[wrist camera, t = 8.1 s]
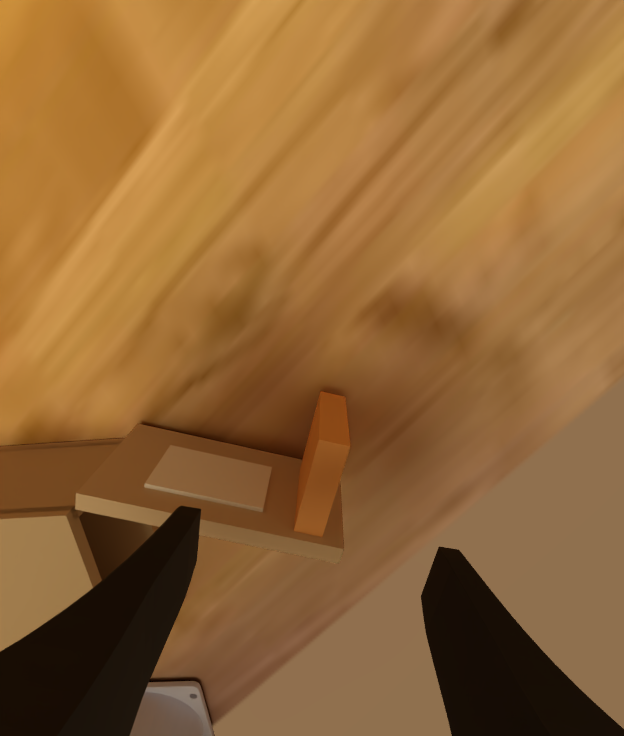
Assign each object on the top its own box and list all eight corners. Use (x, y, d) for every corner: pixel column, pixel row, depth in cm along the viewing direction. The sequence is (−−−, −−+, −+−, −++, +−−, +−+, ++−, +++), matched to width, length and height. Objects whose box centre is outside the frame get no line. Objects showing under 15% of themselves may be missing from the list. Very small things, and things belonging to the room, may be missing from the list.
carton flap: (362, 394, 20) (375, 457, 15) (335, 480, 22) (338, 563, 17) (145, 344, 20) (79, 392, 14) (136, 436, 21) (75, 509, 16)
